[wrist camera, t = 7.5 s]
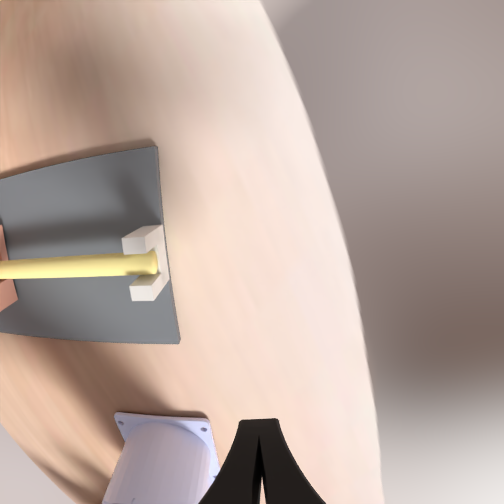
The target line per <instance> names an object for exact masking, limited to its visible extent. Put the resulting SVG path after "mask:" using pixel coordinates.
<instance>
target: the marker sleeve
mask: <svg viewBox="0 0 504 504" xmlns="http://www.w3.org/2000/svg"><path fill="white" fill-rule="evenodd" d="M6 260H8V255H7V250H6V245H5V239H4V233H3V227H2V225H0V261H6ZM17 300H18V297H17V294H16V290H15V286H14V282H13V279H0V312H1V311H2V310H4V309H5V308H7V307H8V306H9V305H11V304H12V303H14V302H15V301H17Z"/></svg>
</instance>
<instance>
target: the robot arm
mask: <svg viewBox="0 0 504 504" xmlns="http://www.w3.org/2000/svg"><path fill="white" fill-rule="evenodd" d="M114 419H115V421H116V424H117V426H118V428H119V430H120V433H121V435H122V437H123V439H124V441H125V445H124V447H123V450H122V452H121V455H120V457H119V460H118V462H117V465H116V467H115V470H114V472H113V475H112V477H111V480H110V482H109V485H108V488H107V490H106V493H105V495H104V498H103V501H102V503H101V504H260V492H261V480H262V479H263V486H264V493H265V499H266V504H326V503H325V502H324V501H323V500H322V498H321V497H320V496H319V495H318V494H317V492H316V491H315V490H314V488H313V487H312V486H311V484H310V483H309V482H308V480H307V479H306V477H305V476H304V474H303V473H302V471H301V470H300V468H299V466H298V465H297V463H296V461H295V459H294V457H293V455H292V454H291V452H290V450H289V448H288V446H287V443H286V441H285V439H284V436H283V434H282V431H281V428H280V424H279V420H278V419H276V418H272V419H251V420H241V421H240V422H239V425H238V429H237V433H236V436H235V439H234V441H233V444H232V446H231V449H230V451H229V453H228V455H227V457H226V460H225V462H224V464H223V466H222V468H221V469H220V465H219V461H218V457H217V452H216V448H215V444H214V439H213V434H212V430H211V425H210V422H209V420H208V419H206V418H188V417H168V416H153V415H142V414H132V413H123V412H116V413H115V415H114ZM121 421H122V422H121ZM202 427H204V428H202Z"/></svg>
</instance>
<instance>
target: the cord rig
mask: <svg viewBox="0 0 504 504" xmlns="http://www.w3.org/2000/svg"><path fill="white" fill-rule="evenodd" d="M0 225H2V227H3V233H4V239H5V245H6V250H7V255H8V260H6V261H0V279H13V282H14V286H15V290H16V294H17V297H18V300H17V301H15V302H14V303H12V304H11V305H9V306H8V307H7V308H5V309H4V310H2V311H1V312H0V332H2V333H10V334H18V335H26V336H34V337H44V338H54V339H66V340H78V341H93V342H111V343H138V344H179V342H180V340H181V338H180V333H179V327H178V321H177V315H176V309H175V303H174V297H173V290H172V283H171V276H170V269H169V261H168V254H167V246H166V237H165V228H164V219H163V209H162V199H161V188H160V175H159V161H158V147H156V146H152V147H146V148H139V149H133V150H126V151H120V152H115V153H109V154H104V155H98V156H93V157H88V158H83V159H78V160H74V161H69V162H65V163H60V164H56V165H52V166H48V167H44V168H40V169H36V170H32V171H28V172H25V173H21V174H17V175H14V176H10V177H7V178H3V179H0Z"/></svg>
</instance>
